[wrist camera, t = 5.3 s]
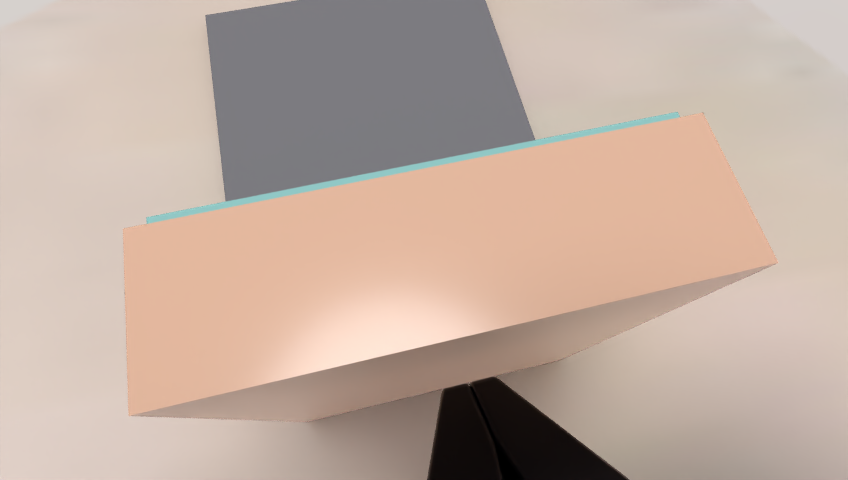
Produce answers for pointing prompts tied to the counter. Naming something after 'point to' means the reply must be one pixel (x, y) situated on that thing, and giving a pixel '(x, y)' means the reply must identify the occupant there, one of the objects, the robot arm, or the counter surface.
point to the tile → (429, 272)
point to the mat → (356, 89)
